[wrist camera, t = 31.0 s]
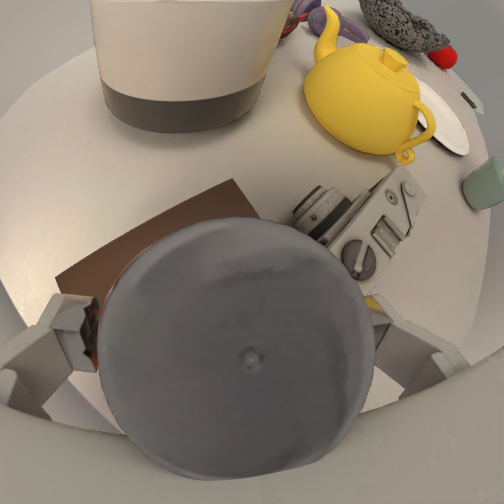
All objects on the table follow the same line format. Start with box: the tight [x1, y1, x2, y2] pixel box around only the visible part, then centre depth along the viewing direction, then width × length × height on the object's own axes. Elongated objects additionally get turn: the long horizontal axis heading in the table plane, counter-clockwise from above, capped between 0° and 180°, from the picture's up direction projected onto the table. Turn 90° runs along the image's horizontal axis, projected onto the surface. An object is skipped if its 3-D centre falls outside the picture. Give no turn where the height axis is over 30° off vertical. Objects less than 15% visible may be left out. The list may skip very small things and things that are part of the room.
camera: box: [292, 165, 426, 296], centre depth 23 cm, size 14×8×10 cm, turn 135°
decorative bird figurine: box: [278, 13, 310, 43], centre depth 35 cm, size 3×18×10 cm, turn 146°
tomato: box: [428, 45, 457, 69], centre depth 60 cm, size 12×13×12 cm
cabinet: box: [55, 179, 261, 315], centre depth 18 cm, size 15×13×10 cm
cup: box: [463, 157, 504, 210], centre depth 35 cm, size 8×8×10 cm
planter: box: [89, 0, 295, 133], centre depth 22 cm, size 19×19×18 cm
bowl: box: [359, 0, 450, 52], centre depth 50 cm, size 31×31×15 cm
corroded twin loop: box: [462, 92, 477, 108], centre depth 61 cm, size 5×8×1 cm, turn 52°
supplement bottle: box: [97, 217, 375, 481], centre depth 8 cm, size 6×6×11 cm
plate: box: [414, 76, 469, 156], centre depth 44 cm, size 25×25×2 cm
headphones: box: [291, 0, 369, 43], centre depth 44 cm, size 18×8×20 cm
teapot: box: [304, 5, 436, 165], centre depth 30 cm, size 25×18×14 cm
